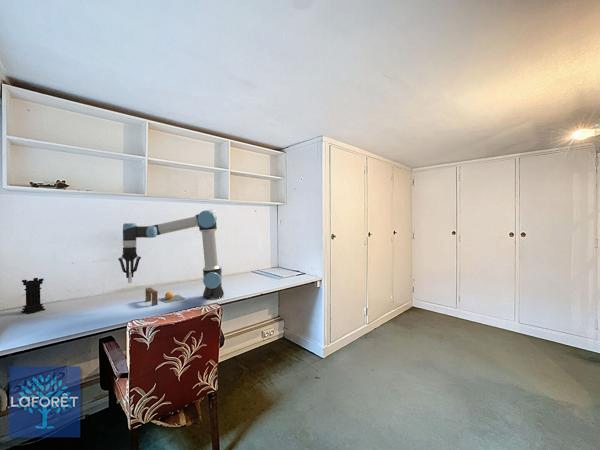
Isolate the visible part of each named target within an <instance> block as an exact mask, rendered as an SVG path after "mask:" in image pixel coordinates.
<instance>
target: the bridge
mask: <svg viewBox="0 0 600 450" xmlns="http://www.w3.org/2000/svg"><path fill="white" fill-rule="evenodd" d="M144 290H145V292H144V293H145V302H146V303H147V302H151V306H152V307H154V306H158V303H159V301H158V300H159V298H158V297H159V296H158V290H156V289H154V288H151V287H146V288H145V289H144Z"/></svg>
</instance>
